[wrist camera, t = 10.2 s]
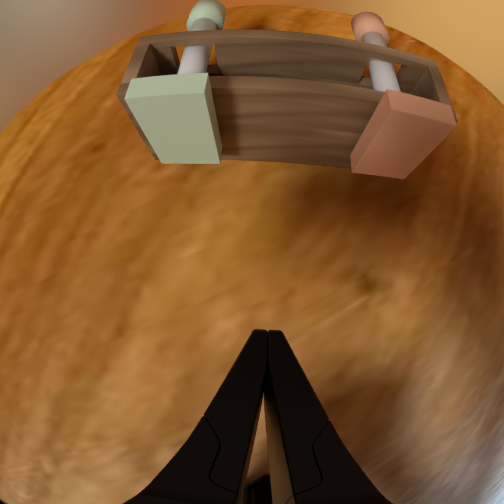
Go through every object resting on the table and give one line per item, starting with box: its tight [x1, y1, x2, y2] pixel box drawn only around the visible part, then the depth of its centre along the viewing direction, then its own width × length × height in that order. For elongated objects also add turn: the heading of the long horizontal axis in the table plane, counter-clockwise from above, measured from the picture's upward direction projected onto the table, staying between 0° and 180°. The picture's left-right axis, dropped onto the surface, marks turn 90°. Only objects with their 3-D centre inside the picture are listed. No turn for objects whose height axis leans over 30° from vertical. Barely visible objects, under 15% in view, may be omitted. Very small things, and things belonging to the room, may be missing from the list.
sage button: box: [124, 0, 226, 164], centre depth 19 cm, size 14×4×8 cm, turn 177°
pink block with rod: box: [350, 12, 457, 179], centre depth 19 cm, size 14×4×8 cm, turn 177°
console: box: [117, 29, 457, 168], centre depth 21 cm, size 6×22×9 cm, turn 87°
